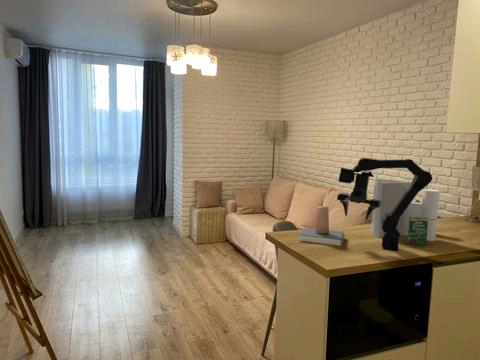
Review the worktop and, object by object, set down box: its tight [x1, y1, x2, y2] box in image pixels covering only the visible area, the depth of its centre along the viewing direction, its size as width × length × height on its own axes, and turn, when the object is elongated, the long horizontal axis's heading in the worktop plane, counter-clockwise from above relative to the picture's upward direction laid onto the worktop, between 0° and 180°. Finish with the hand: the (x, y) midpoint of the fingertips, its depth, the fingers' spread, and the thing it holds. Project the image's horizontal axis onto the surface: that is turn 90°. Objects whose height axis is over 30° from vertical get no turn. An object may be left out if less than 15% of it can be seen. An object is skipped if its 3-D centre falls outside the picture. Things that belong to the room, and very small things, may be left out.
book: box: [298, 227, 345, 247], centre depth 175 cm, size 20×14×4 cm
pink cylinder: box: [314, 205, 330, 234], centre depth 175 cm, size 6×6×12 cm
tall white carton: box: [370, 178, 412, 239], centre depth 190 cm, size 19×15×28 cm
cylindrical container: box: [421, 188, 441, 242], centre depth 180 cm, size 7×7×25 cm
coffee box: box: [407, 217, 428, 247], centre depth 172 cm, size 8×3×13 cm, turn 68°
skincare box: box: [407, 201, 423, 232], centre depth 198 cm, size 21×6×16 cm, turn 58°
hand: (355, 218), depth 167 cm, fingers open, 9 cm apart
